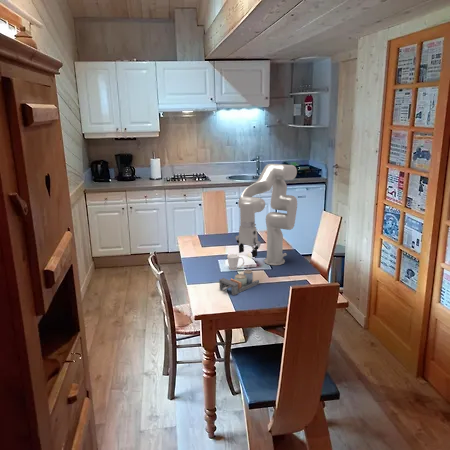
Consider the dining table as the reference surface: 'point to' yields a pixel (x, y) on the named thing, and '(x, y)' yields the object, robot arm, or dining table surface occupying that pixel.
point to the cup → (233, 261)
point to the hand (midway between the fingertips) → (247, 254)
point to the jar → (249, 276)
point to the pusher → (235, 282)
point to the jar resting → (241, 279)
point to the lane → (236, 285)
